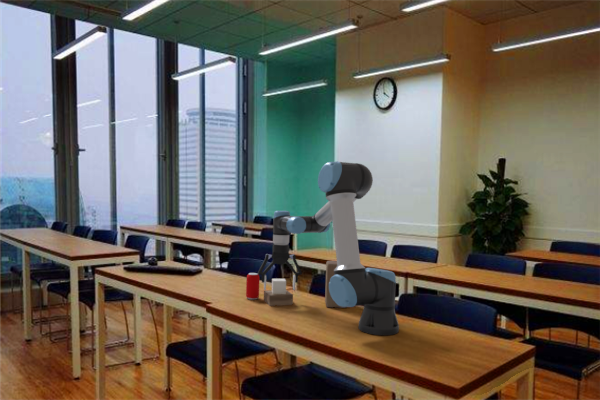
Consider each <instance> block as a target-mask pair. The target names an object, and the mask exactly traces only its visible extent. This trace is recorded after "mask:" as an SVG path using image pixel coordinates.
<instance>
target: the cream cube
mask: <svg viewBox="0 0 600 400" xmlns="http://www.w3.org/2000/svg"><path fill="white" fill-rule="evenodd" d="M271 290H272V293H273V294H286V290H287V280H286V278H271Z"/></svg>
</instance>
